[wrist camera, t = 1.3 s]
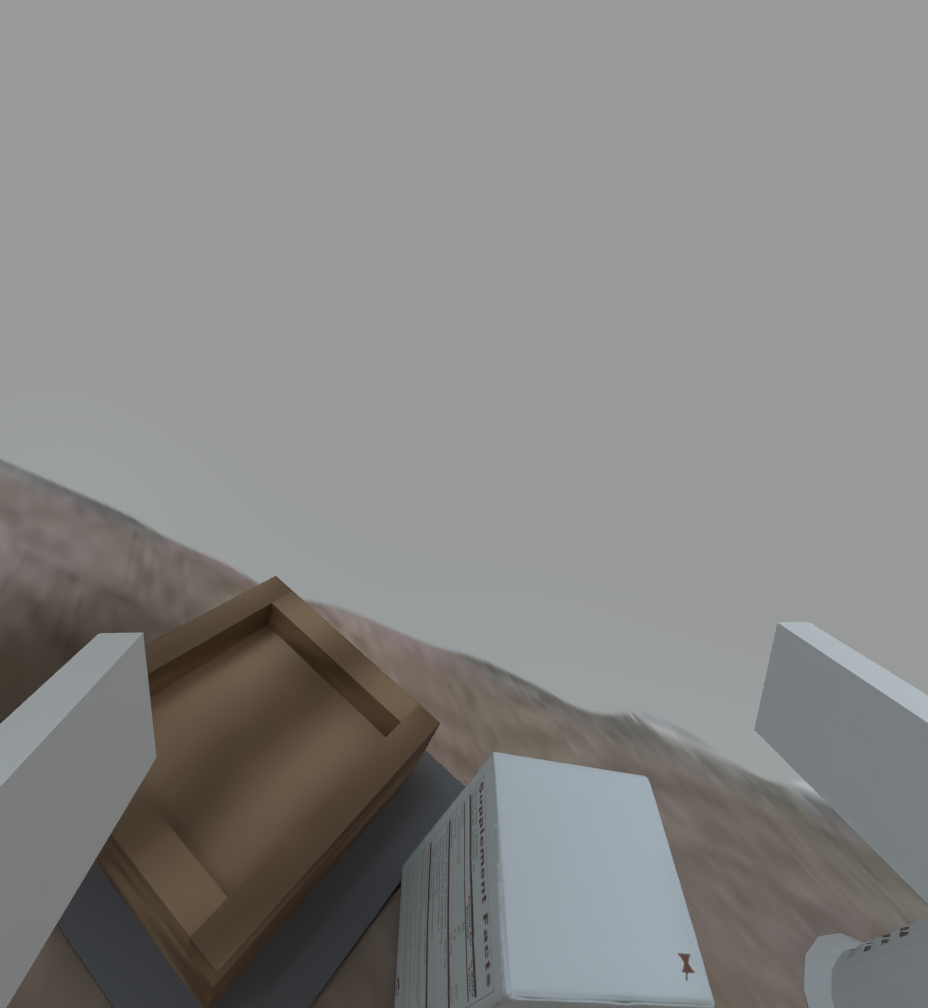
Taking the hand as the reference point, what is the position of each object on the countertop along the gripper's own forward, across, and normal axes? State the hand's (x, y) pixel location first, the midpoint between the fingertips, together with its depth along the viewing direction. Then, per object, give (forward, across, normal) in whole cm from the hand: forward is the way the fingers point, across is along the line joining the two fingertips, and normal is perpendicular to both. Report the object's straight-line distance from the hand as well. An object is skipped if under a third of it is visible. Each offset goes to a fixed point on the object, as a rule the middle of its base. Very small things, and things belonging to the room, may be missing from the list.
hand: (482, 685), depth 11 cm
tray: (+15, -10, -15) cm, 24 cm away
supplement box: (+10, +2, -21) cm, 23 cm away
